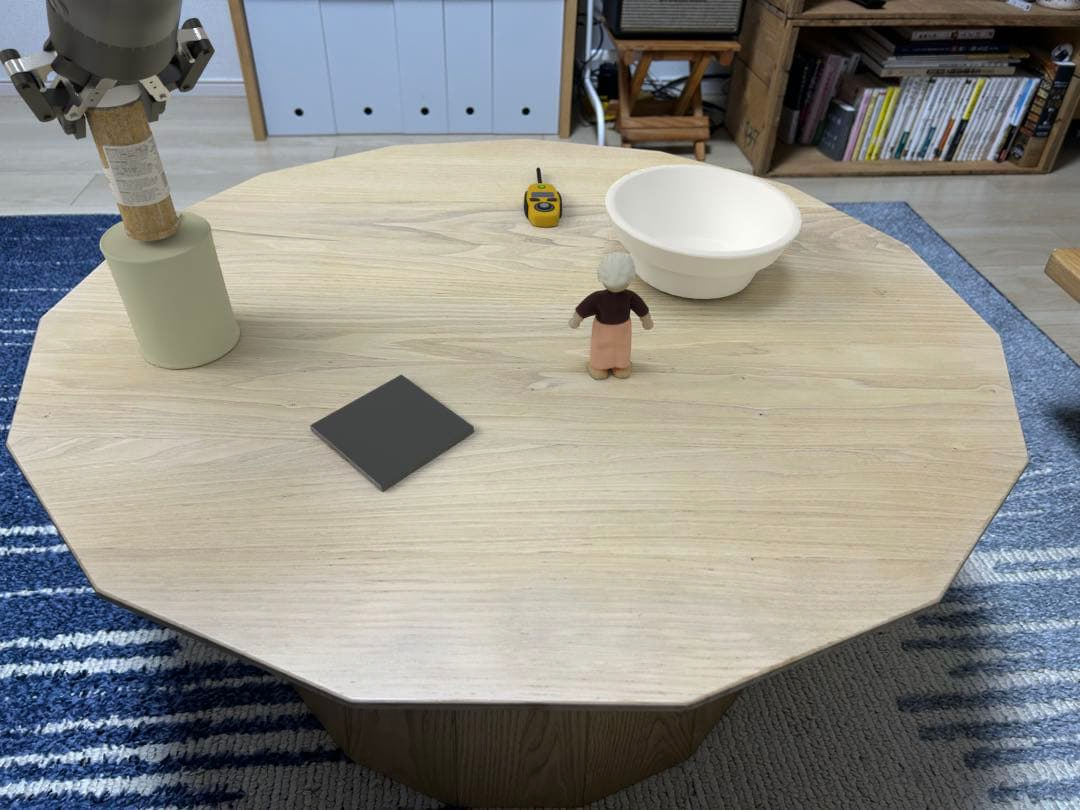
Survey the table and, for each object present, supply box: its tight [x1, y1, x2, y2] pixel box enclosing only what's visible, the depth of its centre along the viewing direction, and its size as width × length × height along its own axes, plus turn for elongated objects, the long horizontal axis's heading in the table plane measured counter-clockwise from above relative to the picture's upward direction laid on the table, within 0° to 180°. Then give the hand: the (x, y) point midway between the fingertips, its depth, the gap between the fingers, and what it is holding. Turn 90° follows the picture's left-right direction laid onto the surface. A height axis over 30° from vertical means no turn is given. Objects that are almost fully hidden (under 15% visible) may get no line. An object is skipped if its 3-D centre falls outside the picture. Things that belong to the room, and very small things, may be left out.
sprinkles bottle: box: [84, 83, 180, 241], centre depth 62 cm, size 5×5×14 cm
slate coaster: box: [309, 374, 475, 492], centre depth 66 cm, size 10×10×1 cm
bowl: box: [604, 163, 803, 300], centre depth 85 cm, size 21×21×8 cm
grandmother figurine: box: [568, 250, 655, 381], centre depth 70 cm, size 8×4×13 cm, turn 106°
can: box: [99, 210, 241, 370], centre depth 71 cm, size 9×9×12 cm
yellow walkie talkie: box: [523, 167, 563, 228], centre depth 99 cm, size 5×2×15 cm
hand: (111, 119), depth 62 cm, fingers open, 5 cm apart
